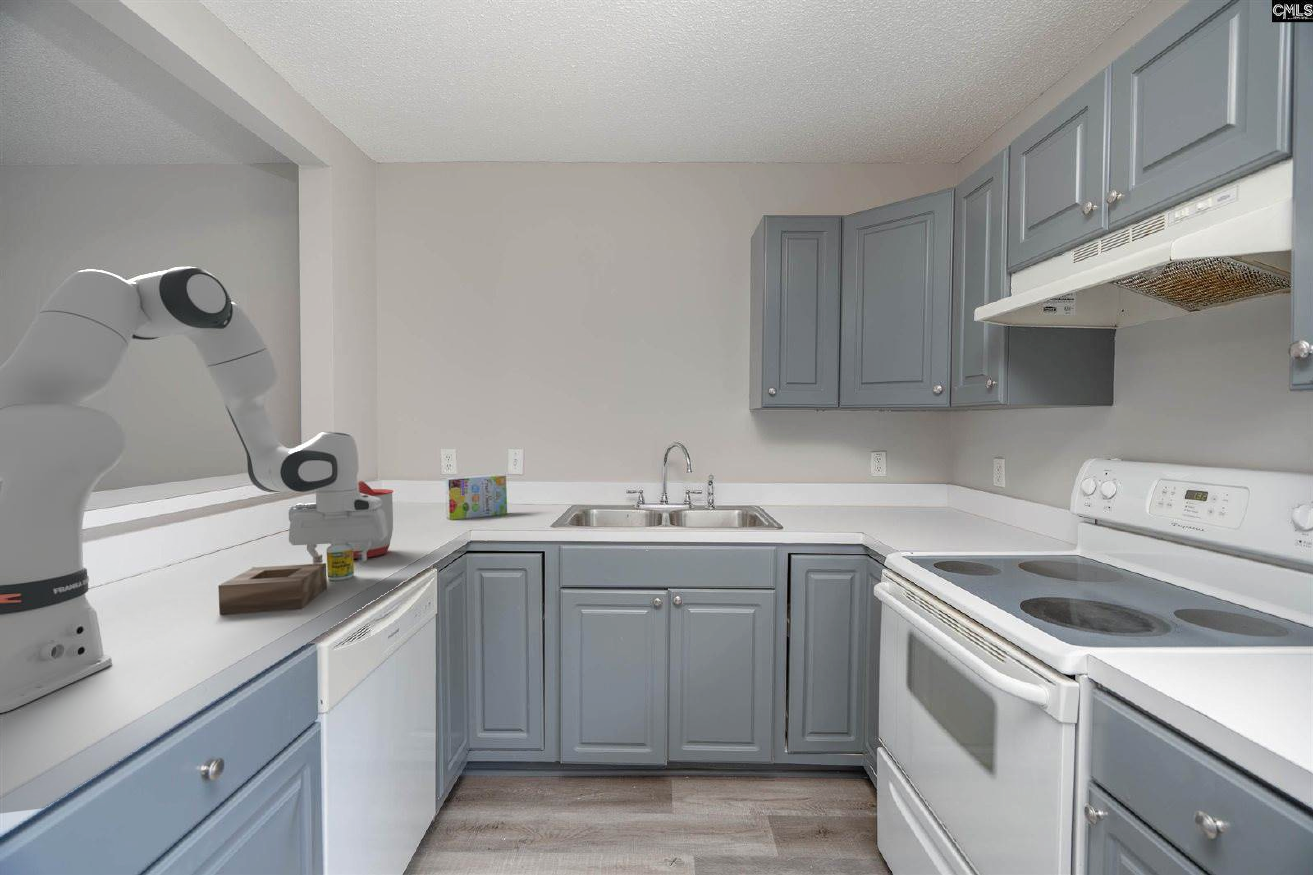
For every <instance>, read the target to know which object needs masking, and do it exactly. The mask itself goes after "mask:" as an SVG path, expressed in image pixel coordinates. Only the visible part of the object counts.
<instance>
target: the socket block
mask: <svg viewBox="0 0 1313 875" xmlns="http://www.w3.org/2000/svg"><path fill="white" fill-rule="evenodd" d="M327 580H328V574H327V562H326V563H325V562H324V563H323V562H322V563H321V564H313V563H308V564H293V565H292V564H291V565H287V564H286V565H274V566H273V565H271V566H254V567H252V568H250V569H248V570H246V571H244V572H242V573H240V574H238V575H236V576H235V577H232V578H230V579H228V580H226V581H224V582H223V583H220V584H218V605H219V606H218V607H219V608H218V610H219V615H220V614H221V615H232V613H236V614H248V613H247V612H250V613H262V611H264V612H273V611H274V612H275V611H276V612H277V611H288V610H289V611H290V610H302V609H303V608H304V607H305V606H306V605H307V606H308V604H309V603H311V602H312V601H313V600H315V599H316V598H317V597H318V596H319V595H321V594H322V593H323V592H325V591H326V590H327V589H328V582H327Z"/></svg>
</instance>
